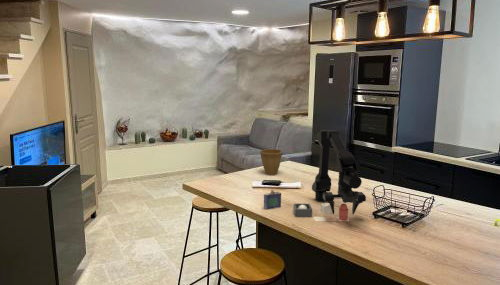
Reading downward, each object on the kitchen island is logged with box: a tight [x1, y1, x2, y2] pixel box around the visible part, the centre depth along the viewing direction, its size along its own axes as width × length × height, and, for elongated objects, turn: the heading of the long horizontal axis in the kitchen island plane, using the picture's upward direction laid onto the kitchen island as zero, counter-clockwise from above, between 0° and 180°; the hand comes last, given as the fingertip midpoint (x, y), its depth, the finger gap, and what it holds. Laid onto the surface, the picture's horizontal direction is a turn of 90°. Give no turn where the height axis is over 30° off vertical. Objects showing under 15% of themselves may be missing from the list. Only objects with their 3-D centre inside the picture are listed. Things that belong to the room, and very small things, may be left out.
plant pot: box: [259, 148, 283, 176], centre depth 254 cm, size 15×15×16 cm
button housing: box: [292, 203, 313, 218], centre depth 179 cm, size 8×8×4 cm
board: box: [312, 216, 350, 222], centre depth 177 cm, size 14×26×2 cm, turn 91°
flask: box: [263, 189, 282, 210], centre depth 188 cm, size 9×3×11 cm, turn 109°
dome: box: [298, 205, 307, 209], centre depth 179 cm, size 6×6×4 cm
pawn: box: [338, 203, 349, 222], centre depth 173 cm, size 4×4×7 cm
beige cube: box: [320, 202, 333, 215], centre depth 182 cm, size 4×4×4 cm
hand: (343, 214), depth 173 cm, fingers open, 9 cm apart
